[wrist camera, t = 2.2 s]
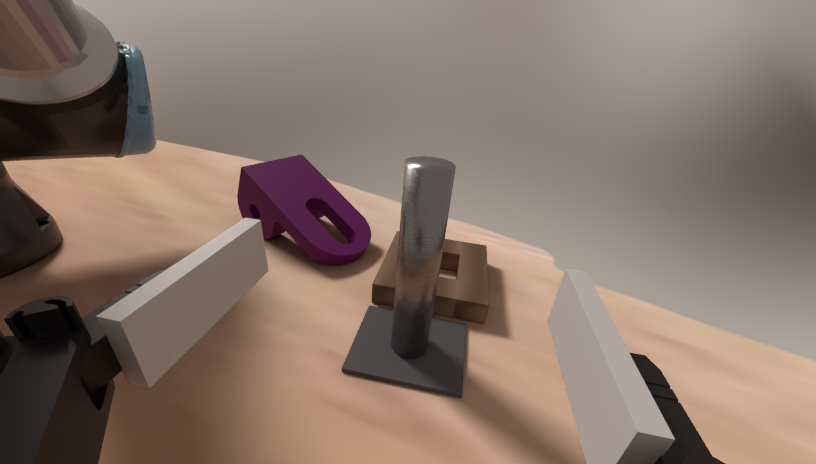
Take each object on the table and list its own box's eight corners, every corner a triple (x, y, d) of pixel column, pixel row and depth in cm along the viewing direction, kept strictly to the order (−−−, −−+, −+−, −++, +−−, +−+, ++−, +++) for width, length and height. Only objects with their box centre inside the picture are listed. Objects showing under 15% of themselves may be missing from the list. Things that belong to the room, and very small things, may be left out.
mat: (341, 371, 28) (341, 368, 27) (369, 308, 34) (369, 305, 34) (461, 397, 26) (462, 394, 26) (464, 326, 33) (465, 324, 33)
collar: (371, 302, 35) (372, 283, 34) (395, 247, 46) (397, 231, 45) (484, 323, 34) (489, 305, 33) (482, 261, 44) (486, 245, 43)
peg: (386, 354, 29) (400, 167, 21) (395, 327, 32) (410, 154, 24) (425, 362, 29) (454, 174, 20) (430, 334, 31) (457, 160, 23)
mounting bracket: (363, 273, 50) (290, 195, 54) (384, 238, 45) (302, 154, 49) (314, 304, 43) (234, 212, 47) (332, 267, 38) (241, 166, 42)
